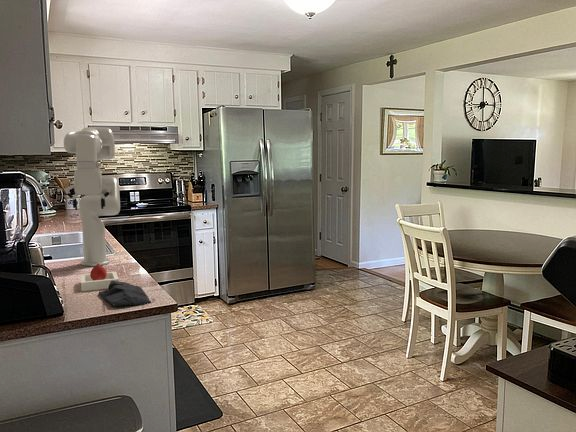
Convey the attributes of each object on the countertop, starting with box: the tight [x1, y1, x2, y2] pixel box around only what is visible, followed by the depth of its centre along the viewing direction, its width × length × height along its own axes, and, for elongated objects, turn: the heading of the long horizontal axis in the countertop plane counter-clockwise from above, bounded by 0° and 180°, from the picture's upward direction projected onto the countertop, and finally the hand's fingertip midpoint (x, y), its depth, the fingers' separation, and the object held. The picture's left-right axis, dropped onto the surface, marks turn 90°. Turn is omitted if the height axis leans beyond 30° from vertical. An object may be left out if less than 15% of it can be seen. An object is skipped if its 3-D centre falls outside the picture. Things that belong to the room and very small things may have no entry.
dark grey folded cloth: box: [98, 281, 152, 308], centre depth 162 cm, size 15×22×5 cm
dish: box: [80, 270, 120, 292], centre depth 179 cm, size 13×13×3 cm
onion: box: [89, 263, 108, 281], centre depth 178 cm, size 6×6×8 cm
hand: (89, 209), depth 185 cm, fingers open, 9 cm apart
